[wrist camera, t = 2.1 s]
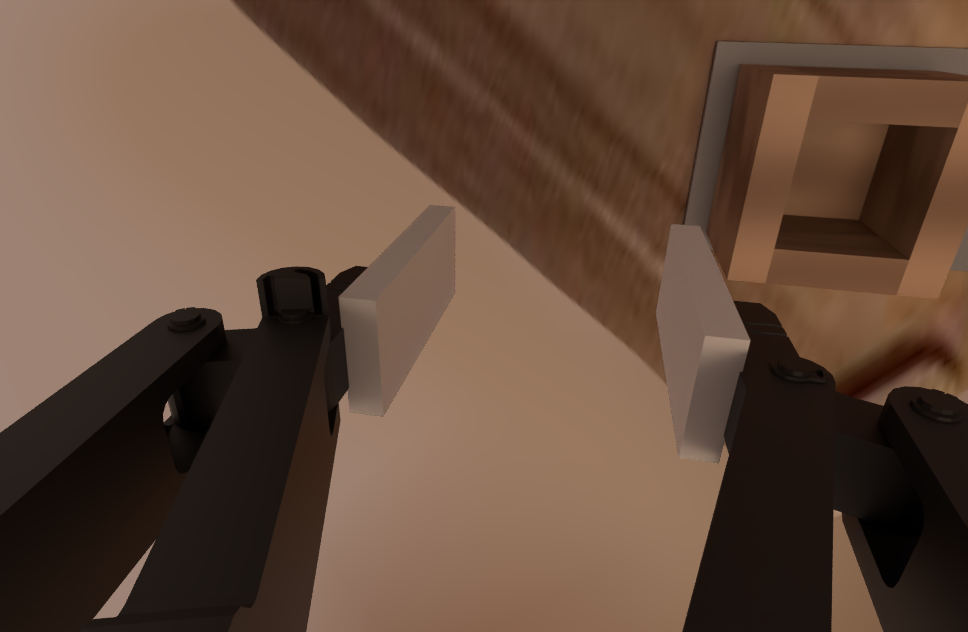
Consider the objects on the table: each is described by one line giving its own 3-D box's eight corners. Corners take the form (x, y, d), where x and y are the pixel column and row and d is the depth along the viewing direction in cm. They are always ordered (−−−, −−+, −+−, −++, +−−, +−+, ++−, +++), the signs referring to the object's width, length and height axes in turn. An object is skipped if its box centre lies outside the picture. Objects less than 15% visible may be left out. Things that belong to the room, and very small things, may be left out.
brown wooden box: (740, 63, 30) (773, 74, 24) (935, 70, 28) (1025, 83, 22) (706, 233, 34) (727, 279, 28) (875, 246, 32) (937, 299, 26)
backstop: (726, -15, 29) (777, -32, 20) (1183, -8, 26) (1476, -25, 17) (672, 283, 36) (692, 366, 27) (1025, 316, 33) (1175, 421, 24)
